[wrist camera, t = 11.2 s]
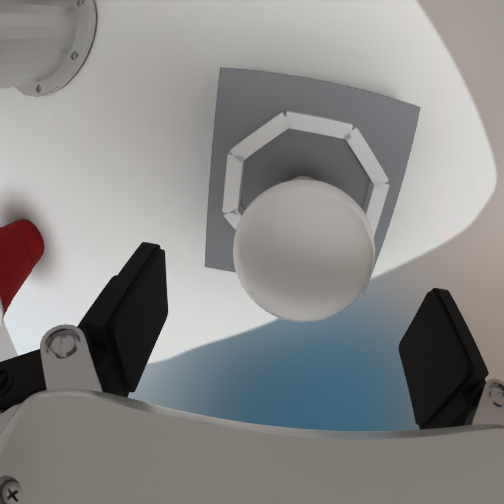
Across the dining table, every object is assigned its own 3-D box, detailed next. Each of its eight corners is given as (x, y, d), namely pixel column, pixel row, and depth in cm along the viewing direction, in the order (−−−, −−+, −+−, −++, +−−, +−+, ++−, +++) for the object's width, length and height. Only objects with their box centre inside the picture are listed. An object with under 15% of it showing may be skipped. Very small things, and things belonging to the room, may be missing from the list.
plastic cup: (61, 220, 31) (-8, 279, 21) (57, 285, 36) (7, 345, 26) (4, 186, 29) (-63, 230, 19) (5, 250, 35) (-47, 298, 25)
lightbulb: (258, 233, 23) (227, 348, 13) (253, 146, 20) (207, 213, 10) (346, 235, 22) (372, 352, 12) (351, 147, 19) (402, 216, 9)
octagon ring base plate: (234, 70, 21) (215, 66, 16) (397, 101, 21) (427, 109, 15) (216, 263, 31) (200, 304, 25) (346, 286, 30) (354, 330, 25)
